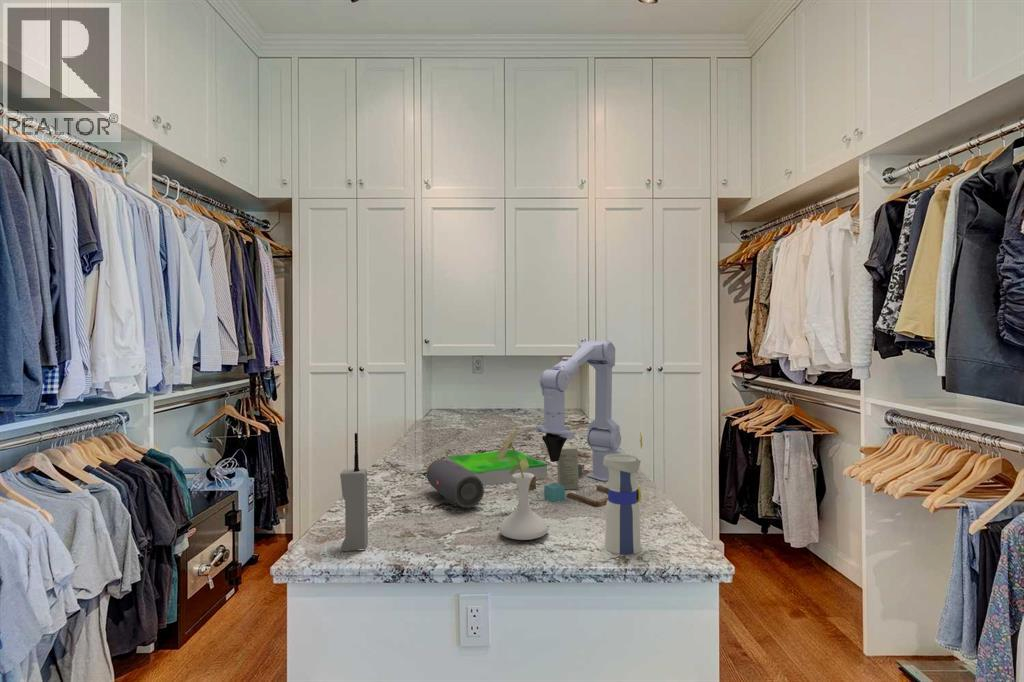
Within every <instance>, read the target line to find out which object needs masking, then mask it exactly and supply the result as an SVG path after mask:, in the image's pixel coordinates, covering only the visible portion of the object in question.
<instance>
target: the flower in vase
mask: <svg viewBox="0 0 1024 682" xmlns="http://www.w3.org/2000/svg"><path fill="white" fill-rule="evenodd" d="M517 435H518V429H517V428H513V429H511V430H510V431H509V435H508V437H507V438H504V439H503V442H502V443H503V445H501V447H500V448H499V449H498V450H497V451H498V452H500V453H499V454H498V455H497V457H499V459H500V458H502V457H503V456H504V455H505V454H506V452H508V450H510V449H511V450H513V451H514V453H515V455H516V457H517V460H518V464H516V465H514V466H513V467H512V469H511V470H510V473H509V474H513V473H515V471H516V470H517V468H518V467H519V469H520V471H521V473H516V474H513V475H512V477H513V478H514V480H515V481H516V482H515V483H516V484H515V485H516V489H517V488H518V489H517V494H518V495H517V496H518V501H517V502H518V503H517V506H516V508H515V509H514V511H512V512H511V513H510V514H508V515H507V516H506V517H505V518H504V519H503V520H502V521H501V522H500V524H499V526H498V531H499V532H500V534H501V535H502V536H504V537H505V538H509V539H512V540H516V541H517V540H518V541H528V540H529V541H530V540H534V539H535V540H536V539H538V538H541V537H544V536H545V535H546V534H547V533H548V531H549V525H548V523H547V522H546V520H544V519H543V518H542V517H540V516H539V515H538V514H537V513H536V512H535V511H534V510H532V509H531V507H530V505H529V492H530V491H529V485H530V482H531V480H532V478H533V477H534V475H533V474H531V473H523V472H522V471H524V470H526V469H527V468H528V467H529V464H528V461H527V459H526V457H525V458H524V459H522V460H521V461H520V462H519V458H518V456H517V453H516V451H517V450H516V449H515V447H514V445H513V444H514V441H515V440H516V437H517ZM515 450H516V451H515Z"/></svg>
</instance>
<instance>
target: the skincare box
mask: <svg viewBox="0 0 1024 682" xmlns="http://www.w3.org/2000/svg"><path fill="white" fill-rule="evenodd" d="M578 451H579V450H578V446H577V445H563V448H562V450H561V454H560V458H559V461H557V462H556V463H557V464H556V465H557V484H560V485H563V486H565V490H579V488H580V485H579V481H580V480H579V478H580V477H578V464H579V457H578V455H579V454H578V453H579V452H578Z"/></svg>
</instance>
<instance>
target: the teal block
mask: <svg viewBox="0 0 1024 682" xmlns="http://www.w3.org/2000/svg"><path fill="white" fill-rule="evenodd" d="M543 486H544V493H543V495H544V500H545V499H546V500H545V501H547V500H548V502H550V501H551V502H550V503H552V502H553V504H555V503H554V502H556V503H559V502H558V501H560V502H563V500H564V501H566V489H565V486H563V485H560V484H558V482H557V483H556V482H555V483H549V484H545V485H543Z"/></svg>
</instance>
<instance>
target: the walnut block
mask: <svg viewBox="0 0 1024 682" xmlns="http://www.w3.org/2000/svg"><path fill="white" fill-rule="evenodd" d="M534 489H536V490H537V480H536V477H535V476H534V477H533V478H532V480H531V482H530V485H529V490H533V491H535V490H534Z"/></svg>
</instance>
